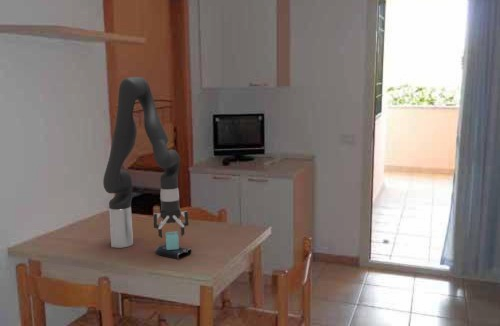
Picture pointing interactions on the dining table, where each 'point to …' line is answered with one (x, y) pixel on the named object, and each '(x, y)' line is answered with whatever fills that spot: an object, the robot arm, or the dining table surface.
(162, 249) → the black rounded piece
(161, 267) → the dining table surface
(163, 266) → the dining table surface
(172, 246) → the teal block
